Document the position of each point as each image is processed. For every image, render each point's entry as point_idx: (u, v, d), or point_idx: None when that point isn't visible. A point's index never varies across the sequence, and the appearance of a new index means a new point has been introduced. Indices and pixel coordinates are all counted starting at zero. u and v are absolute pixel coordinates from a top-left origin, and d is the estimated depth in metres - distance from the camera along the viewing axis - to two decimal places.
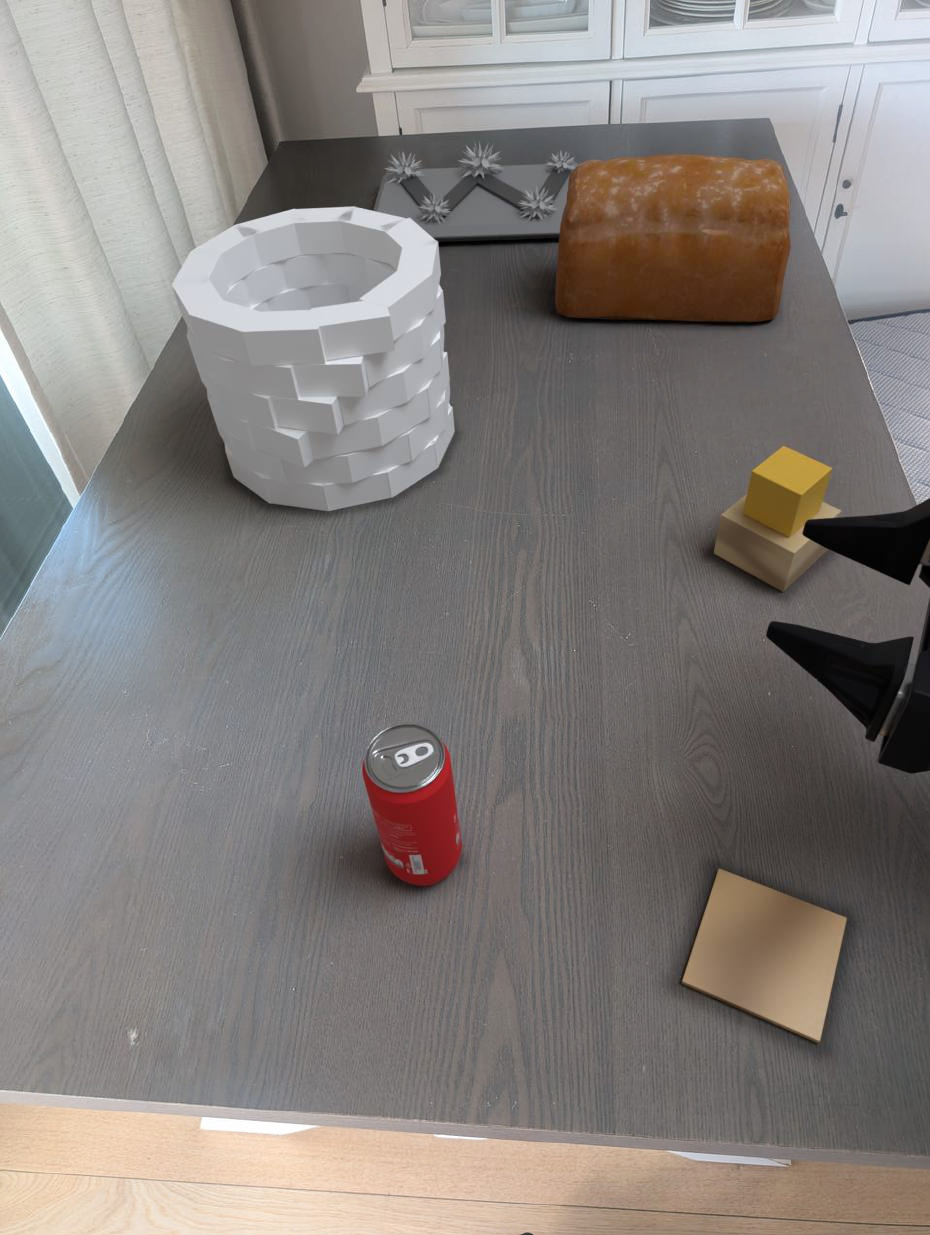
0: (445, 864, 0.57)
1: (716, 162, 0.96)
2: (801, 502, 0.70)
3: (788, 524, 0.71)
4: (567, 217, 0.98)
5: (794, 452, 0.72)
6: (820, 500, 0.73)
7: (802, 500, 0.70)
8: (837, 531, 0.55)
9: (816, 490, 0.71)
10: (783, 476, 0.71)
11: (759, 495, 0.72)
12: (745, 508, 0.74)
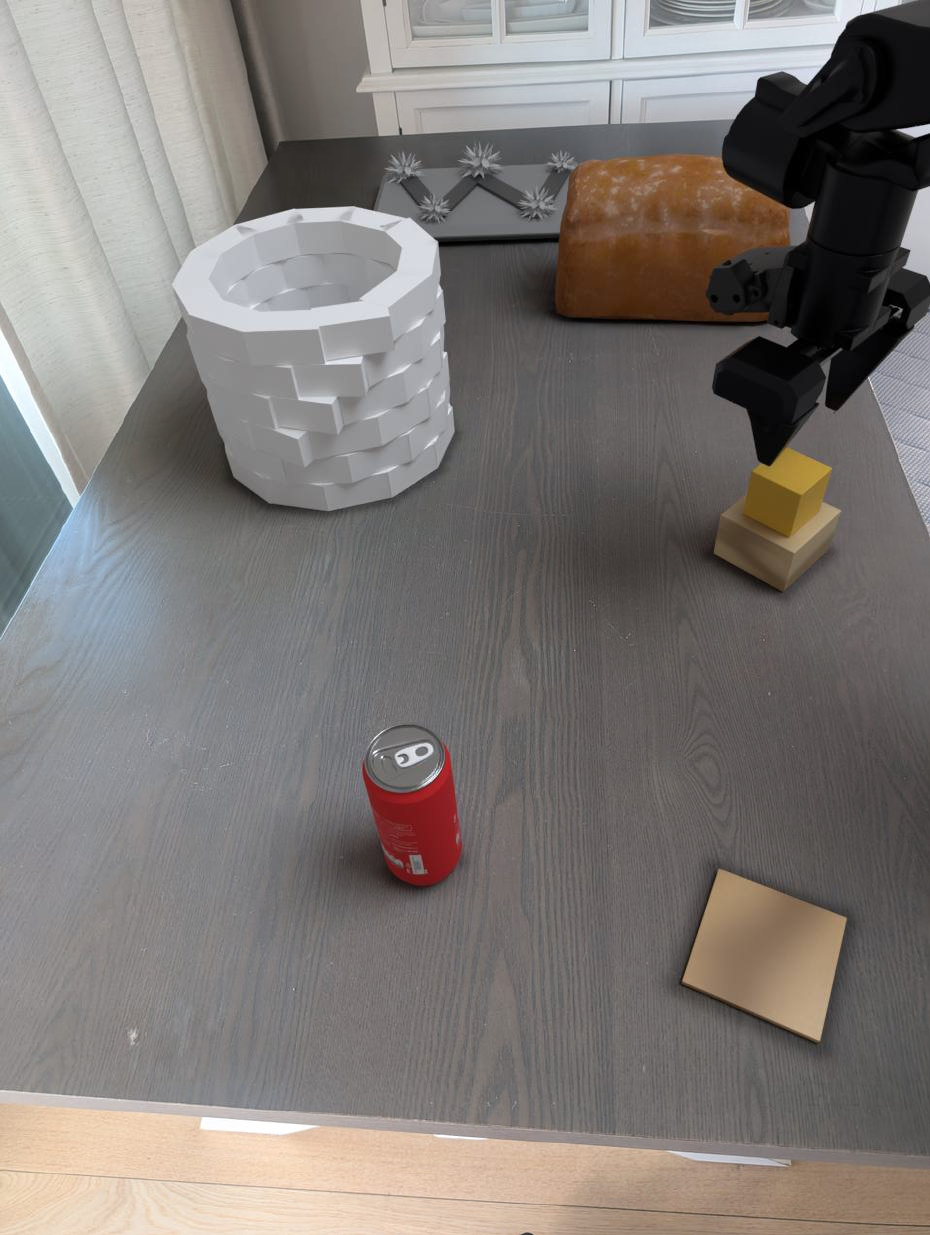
0: (445, 864, 0.57)
1: (716, 162, 0.96)
2: (801, 502, 0.70)
3: (788, 524, 0.71)
4: (567, 217, 0.98)
5: (794, 452, 0.72)
6: (820, 500, 0.73)
7: (802, 500, 0.70)
8: (832, 385, 0.69)
9: (816, 490, 0.71)
10: (783, 476, 0.71)
11: (759, 495, 0.72)
12: (745, 508, 0.74)
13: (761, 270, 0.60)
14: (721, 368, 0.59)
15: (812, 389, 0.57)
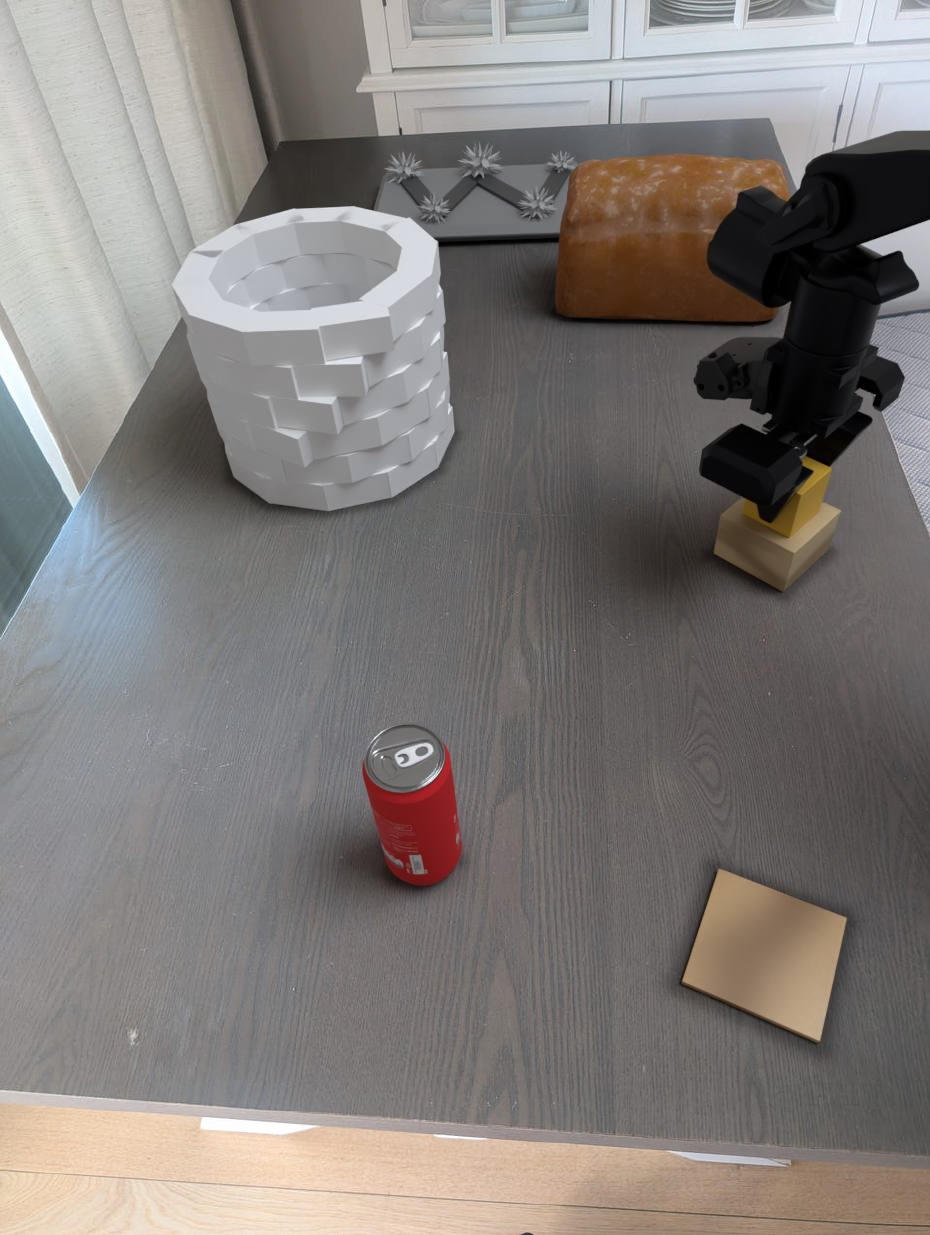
0: (445, 864, 0.57)
1: (716, 162, 0.96)
2: (801, 502, 0.70)
3: (788, 524, 0.71)
4: (567, 217, 0.98)
5: None
6: (819, 501, 0.73)
7: (802, 500, 0.70)
8: None
9: (816, 491, 0.71)
10: None
11: None
12: (745, 508, 0.74)
13: (743, 362, 0.66)
14: (707, 454, 0.64)
15: (789, 474, 0.63)
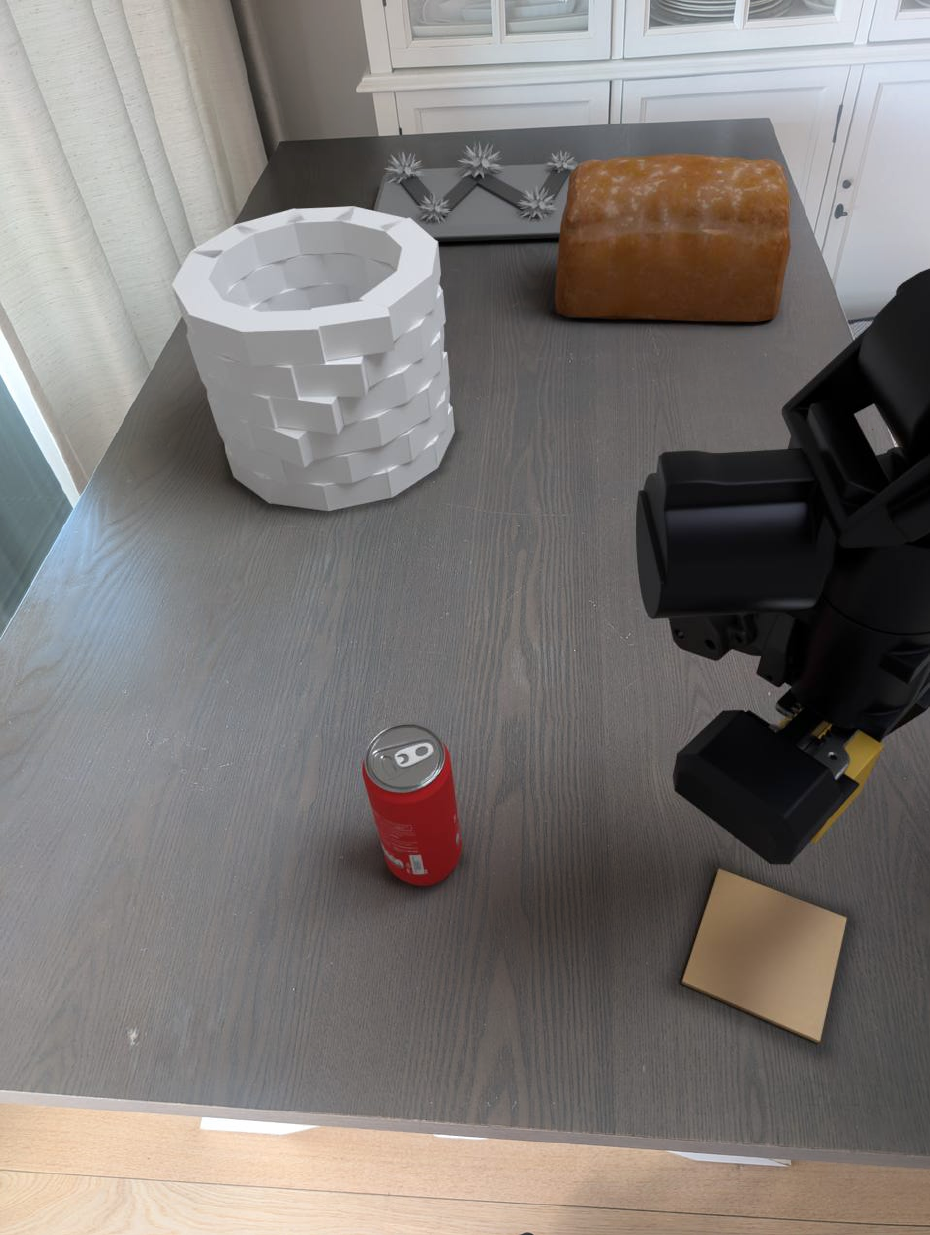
0: (445, 864, 0.57)
1: (716, 162, 0.96)
2: None
3: None
4: (567, 217, 0.98)
5: None
6: (862, 784, 0.47)
7: None
8: None
9: (857, 780, 0.45)
10: None
11: None
12: None
13: None
14: (684, 766, 0.39)
15: (822, 818, 0.37)
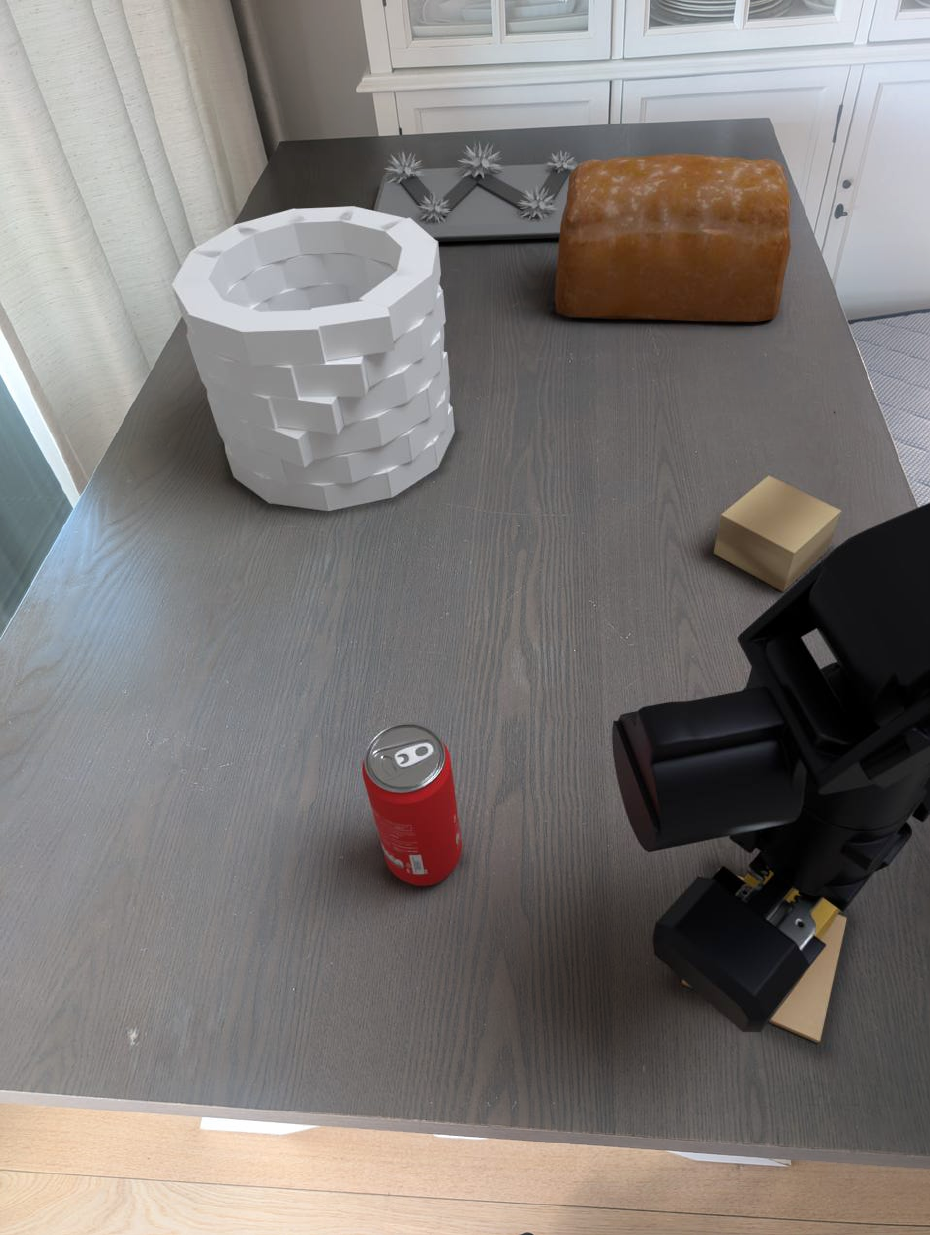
0: (445, 864, 0.57)
1: (716, 162, 0.96)
2: None
3: None
4: (567, 217, 0.98)
5: None
6: (832, 921, 0.50)
7: None
8: None
9: (827, 924, 0.48)
10: None
11: None
12: None
13: None
14: (662, 937, 0.42)
15: (789, 990, 0.40)
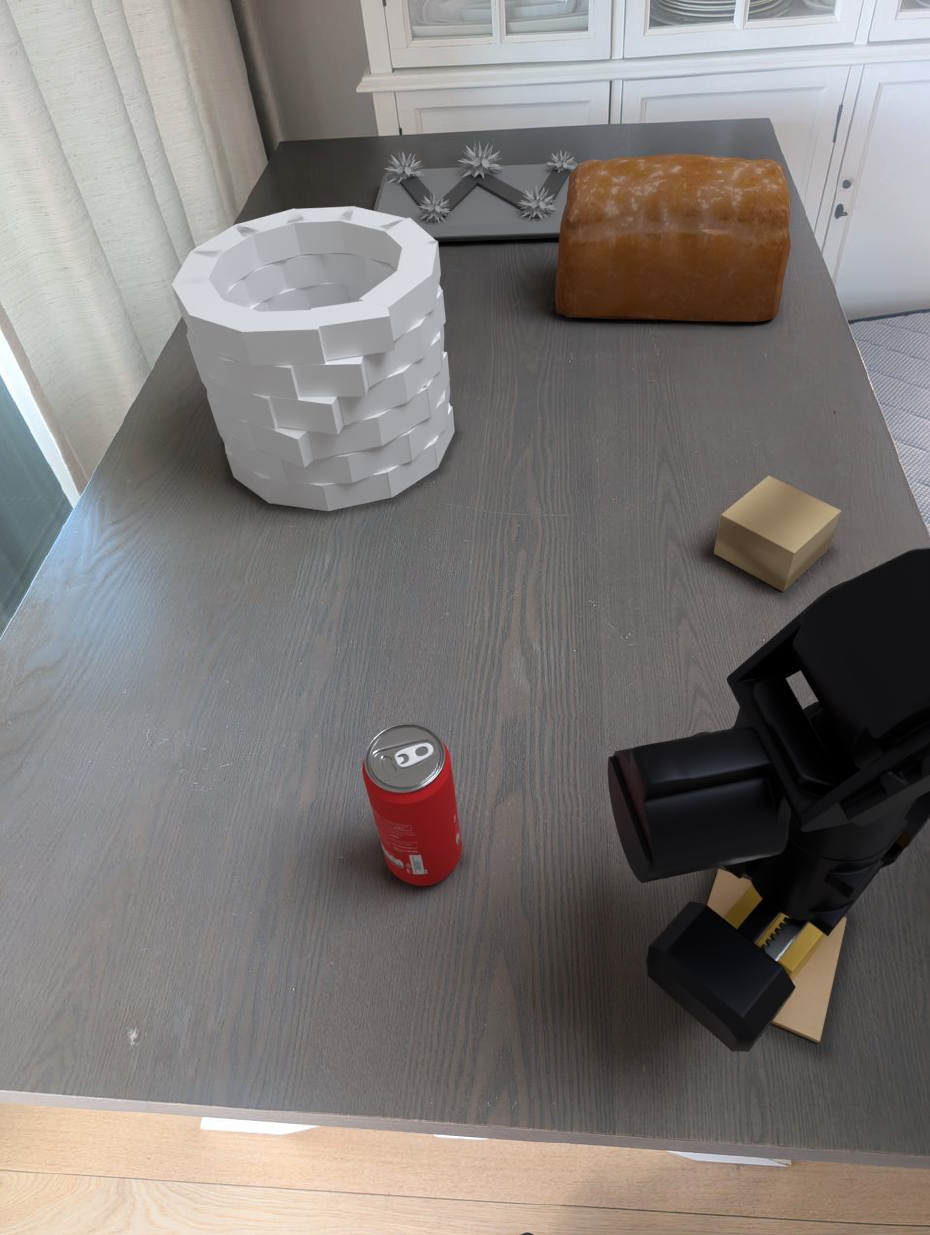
0: (445, 864, 0.57)
1: (716, 162, 0.96)
2: (792, 974, 0.50)
3: None
4: (567, 217, 0.98)
5: None
6: (818, 944, 0.53)
7: (793, 972, 0.50)
8: None
9: (813, 947, 0.51)
10: None
11: None
12: None
13: None
14: (655, 960, 0.44)
15: (776, 1012, 0.42)
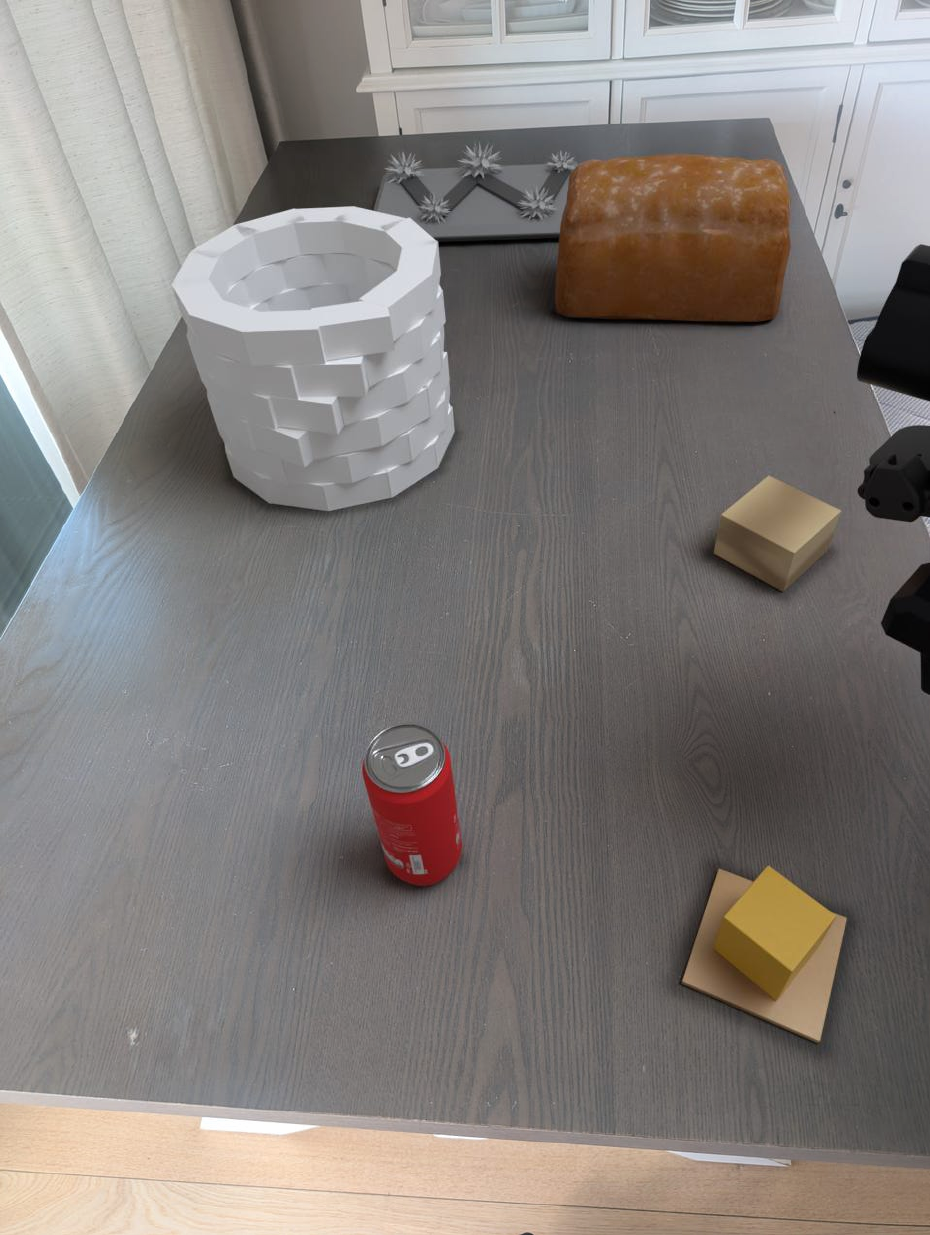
0: (445, 864, 0.57)
1: (716, 162, 0.96)
2: (792, 974, 0.50)
3: (775, 988, 0.51)
4: (567, 217, 0.98)
5: (783, 880, 0.52)
6: (818, 944, 0.53)
7: (793, 972, 0.50)
8: None
9: (813, 947, 0.51)
10: (767, 929, 0.50)
11: (734, 943, 0.52)
12: (716, 945, 0.54)
13: None
14: (900, 608, 0.44)
15: None
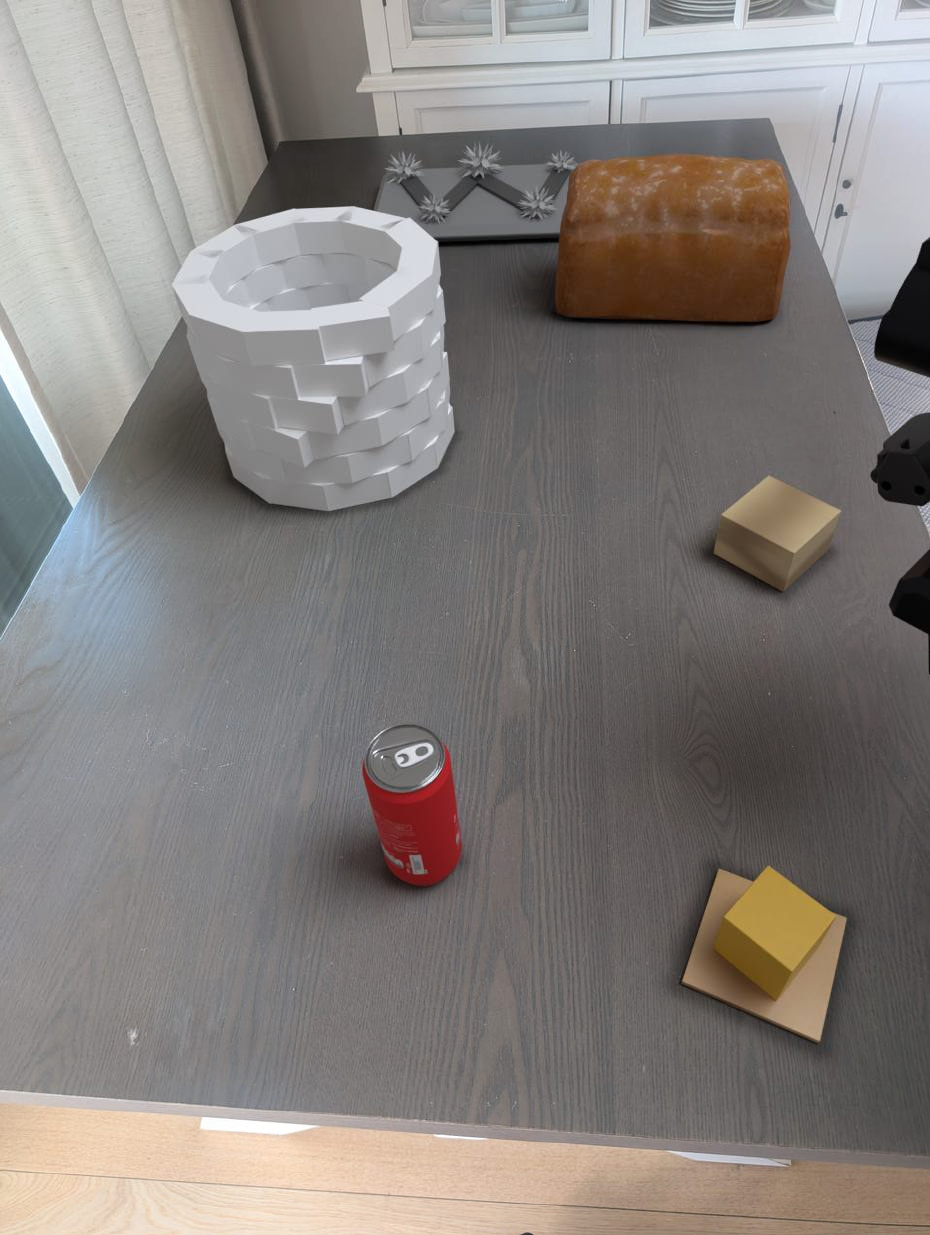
0: (445, 864, 0.57)
1: (716, 162, 0.96)
2: (792, 974, 0.50)
3: (775, 988, 0.51)
4: (567, 217, 0.98)
5: (783, 880, 0.52)
6: (818, 944, 0.53)
7: (793, 972, 0.50)
8: None
9: (813, 947, 0.51)
10: (767, 929, 0.50)
11: (734, 943, 0.52)
12: (716, 945, 0.54)
13: None
14: (908, 589, 0.45)
15: None
